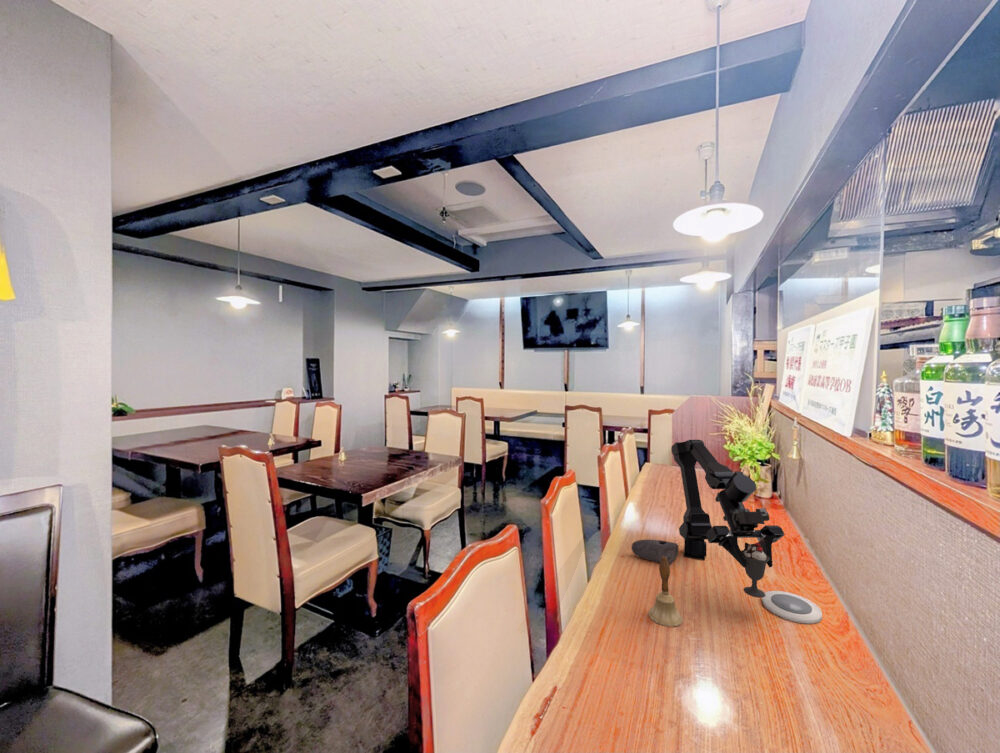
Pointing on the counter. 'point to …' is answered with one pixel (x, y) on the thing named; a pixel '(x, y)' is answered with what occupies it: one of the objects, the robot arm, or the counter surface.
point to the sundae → (754, 567)
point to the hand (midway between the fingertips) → (758, 566)
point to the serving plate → (792, 607)
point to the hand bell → (665, 601)
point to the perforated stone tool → (655, 550)
